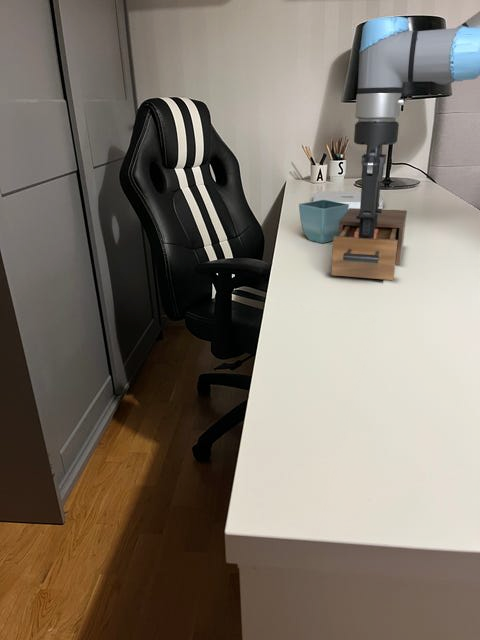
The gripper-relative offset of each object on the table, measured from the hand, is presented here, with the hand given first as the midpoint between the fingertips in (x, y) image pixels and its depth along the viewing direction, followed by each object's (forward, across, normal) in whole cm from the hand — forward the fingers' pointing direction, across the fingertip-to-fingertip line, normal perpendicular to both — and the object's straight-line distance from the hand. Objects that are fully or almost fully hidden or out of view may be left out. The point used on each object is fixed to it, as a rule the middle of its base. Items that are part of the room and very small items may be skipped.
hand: (366, 249), depth 97 cm
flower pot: (+5, +24, +13) cm, 28 cm away
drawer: (+4, -2, 0) cm, 4 cm away
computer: (+5, +74, +14) cm, 75 cm away
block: (0, 0, 0) cm, 0 cm away
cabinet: (+5, +12, 0) cm, 13 cm away
